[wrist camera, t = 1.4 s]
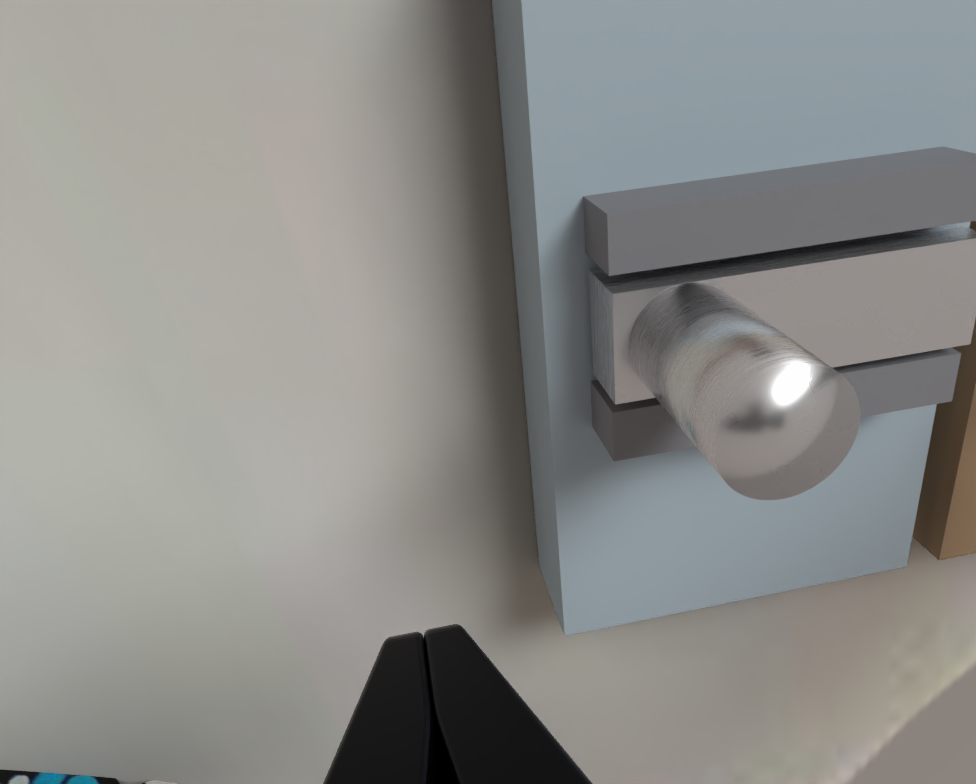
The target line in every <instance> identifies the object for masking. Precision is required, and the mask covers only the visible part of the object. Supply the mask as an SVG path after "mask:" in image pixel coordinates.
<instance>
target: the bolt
mask: <svg viewBox="0 0 976 784" xmlns="http://www.w3.org/2000/svg"><path fill="white" fill-rule="evenodd" d="M589 292H590V318H591V344H592V369H593V374H594V375H595V377H596V378H597V380H598V381H599V382H600V384H601V385H602V387H603V388H604V389H605V391H606V392H607V394H608V395H609V396H610V398H611V399H612V401H613V402H614V403H615V404H621V403H627V402H633V401H639V400H645V399H651V398H656V399H657V400H658V401H659V402H660V404H661V405H662V406H663V407H664V408H665V410H666V411H667V412H668V413H669V414H670V416H671V417H672V418H673V419H674V421H675V422H676V423H677V424H678V425H679V427H680V428H681V429H682V430H683V431H684V433H685V434H686V435H687V436H688V437H689V439H690V440H691V441H692V442H693V443H694V445H695V446H696V447H697V448H698V449H699V451H700V452H701V453H702V454H703V455H704V457H705V458H706V459H707V460H708V461H709V463H710V464H711V465H712V466H713V468H714V469H715V470H716V471H717V472H718V474H719V475H720V476H721V477H722V478H723V480H724V481H725V482H726V483H727V484H728V485H729V486H730V487H731V488H732V489H733V490H734V491H736V492H738V493H739V494H741V495H744V496H746V497H749V498H753V499H757V500H779V499H785V498H789V497H792V496H795V495H798V494H801V493H803V492H805V491H807V490H809V489H811V488H813V487H814V486H816V485H818V484H819V483H820V482H822V481H823V480H824V479H826V478H827V477H828V476H829V475H830V474H831V473H833V472H834V471H835V469H836V468H837V467H838V466H839V465H840V464H841V463H842V461H843V460H844V459H845V457H846V456H847V454H848V453H849V451H850V449H851V448H852V445H853V443H854V441H855V439H856V436H857V433H858V429H859V424H860V404H859V400H858V396H857V394H856V392H855V389H854V388H853V386H852V385H851V383H850V382H849V381H848V380H847V379H846V378H845V377H844V376H843V375H841V374H840V373H839V372H837V371H836V370H834V369H833V367H839V366H845V365H851V364H857V363H863V362H868V361H874V360H880V359H886V358H892V357H898V356H904V355H910V354H916V353H921V352H927V351H933V350H939V349H945V348H951V347H957V346H963V345H968V344H971V339H972V334H973V329H974V324H975V319H976V230H973V229H970V228H967V227H964V226H961V225H958V224H951V225H944V226H938V227H931V228H924V229H918V230H911V231H905V232H898V233H891V234H885V235H878V236H871V237H865V238H858V239H851V240H845V241H838V242H832V243H825V244H818V245H812V246H805V247H798V248H792V249H785V250H778V251H772V252H765V253H759V254H752V255H745V256H739V257H732V258H725V259H719V260H712V261H705V262H699V263H692V264H686V265H679V266H672V267H666V268H659V269H652V270H646V271H639V272H632V273H626V274H619V275H613V276H608V275H607V274H606V273H605V272H604V271H603V270H602V269H601V268H597V269H590V270H589Z"/></svg>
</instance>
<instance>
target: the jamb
mask: <svg viewBox="0 0 976 784" xmlns="http://www.w3.org/2000/svg"><path fill="white" fill-rule="evenodd" d="M969 228H970V229H973V230H976V221H971V222H970V227H969ZM951 348H953V349H955V350H956V351H958V352H960V353H961V358H960V363H959V368H958V373H957V378H956V384H955V389H954V394H953V399H952V401H950V402H945V403H939V404H937V406H936V411H935V416H934V422H933V427H932V433H931V438H930V444H929V449H928V454H927V460H926V465H925V471H924V476H923V481H922V487H921V492H920V498H919V503H918V508H917V514H916V519H915V525H914V530H913V535H912V536H913V537H914V538H915V539H916V540H917V541H918V542H919V543H921V544H922V545H923V546H924V547H925V548H926V549H927V550H928V551H929V552H931V553H932V554H933V555H934V556H935V557H936V558H937V559H938V560H943V559H947V558H952V557H957V556H962V555H967V554H972V553H976V319H975V324H974V329H973V334H972V339H971V344H968V345H963V346H957V347H951Z"/></svg>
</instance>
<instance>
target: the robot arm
mask: <svg viewBox="0 0 976 784" xmlns="http://www.w3.org/2000/svg"><path fill="white" fill-rule="evenodd" d="M323 784H592V783H591V781H590V780H589V779H588V778H587V777H586V775H585V774H584V773H583V772H582V771H581V769H580V768H579V767H578V766H577V764H576V763H575V762H574V761H573V760H572V758H571V757H570V756H569V755H568V754H567V752H566V751H565V750H564V749H563V748H562V746H561V745H560V744H559V743H558V742H557V740H556V739H555V738H554V737H553V736H552V734H551V733H550V732H549V731H548V729H547V728H546V727H545V726H544V725H543V723H542V722H541V721H540V720H539V719H538V717H537V716H536V715H535V714H534V713H533V711H532V710H531V709H530V708H529V707H528V705H527V704H526V703H525V702H524V701H523V699H522V698H521V697H520V696H519V694H518V693H517V692H516V691H515V690H514V688H513V687H512V686H511V685H510V684H509V682H508V681H507V680H506V679H505V678H504V676H503V675H502V674H501V673H500V672H499V670H498V669H497V668H496V667H495V666H494V664H493V663H492V662H491V661H490V659H489V658H488V657H487V656H486V655H485V653H484V652H483V651H482V650H481V649H480V647H479V646H478V645H477V644H476V643H475V641H474V640H473V639H472V638H471V637H470V635H469V634H468V633H467V632H466V631H465V629H464V628H463V627H461V626H460V625H457V624H453V625H448V626H443V627H438V628H433V629H429V630H427V631H426V632H425V634H424V638H423V635H422V634H421V633H419V632H413V633H408V634H403V635H398V636H393V637H389V638H387V639H386V640H385V641H384V643H383V645H382V647H381V649H380V652H379V654H378V656H377V659H376V661H375V663H374V666H373V668H372V670H371V673H370V675H369V677H368V680H367V682H366V685H365V687H364V689H363V692H362V694H361V696H360V699H359V701H358V703H357V706H356V708H355V710H354V713H353V715H352V717H351V720H350V722H349V724H348V727H347V729H346V731H345V734H344V736H343V739H342V741H341V743H340V746H339V748H338V750H337V753H336V755H335V757H334V760H333V762H332V764H331V767H330V769H329V771H328V774H327V776H326V778H325V781H324V783H323Z"/></svg>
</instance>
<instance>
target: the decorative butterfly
mask: <svg viewBox="0 0 976 784" xmlns="http://www.w3.org/2000/svg"><path fill="white" fill-rule="evenodd" d="M0 784H119V782H118V781H117V780H116V779H115V778H105V777H93V776H81V775H68V774H54V773H41V772H27V771H13V770H0ZM143 784H179V783H171V782H164V781H155V780H151V781H148V782H145V783H143Z"/></svg>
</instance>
